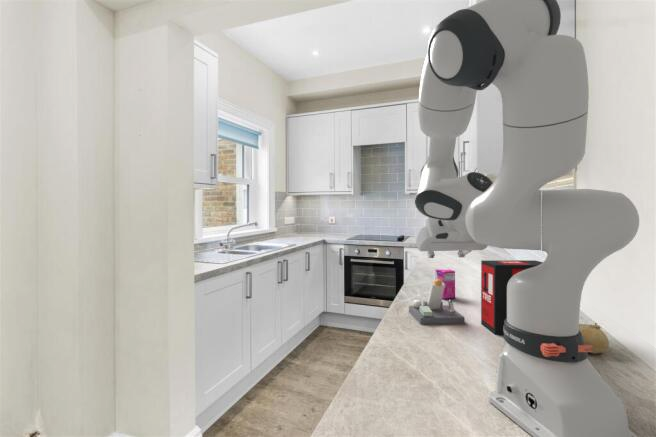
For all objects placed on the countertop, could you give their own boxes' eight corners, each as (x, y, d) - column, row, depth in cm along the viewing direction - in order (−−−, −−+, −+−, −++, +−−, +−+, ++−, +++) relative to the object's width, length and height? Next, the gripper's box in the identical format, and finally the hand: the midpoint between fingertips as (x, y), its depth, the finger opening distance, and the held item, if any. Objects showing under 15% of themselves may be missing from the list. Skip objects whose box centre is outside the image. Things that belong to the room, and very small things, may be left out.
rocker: (432, 315, 101) (432, 311, 101) (423, 316, 101) (423, 312, 101) (427, 310, 105) (428, 306, 105) (419, 310, 105) (419, 306, 105)
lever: (439, 310, 108) (446, 282, 102) (427, 311, 108) (434, 282, 102) (437, 305, 110) (443, 277, 104) (425, 306, 110) (431, 277, 104)
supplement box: (434, 296, 133) (434, 269, 133) (446, 295, 135) (446, 268, 135) (443, 300, 128) (443, 271, 127) (455, 298, 129) (455, 270, 129)
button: (422, 307, 110) (422, 301, 110) (414, 307, 110) (414, 302, 110) (420, 305, 113) (420, 299, 113) (412, 305, 113) (412, 299, 113)
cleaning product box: (534, 324, 100) (535, 260, 99) (554, 335, 91) (554, 265, 91) (481, 324, 100) (481, 260, 100) (495, 334, 91) (495, 265, 91)
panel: (464, 323, 101) (464, 308, 101) (420, 324, 100) (420, 309, 100) (447, 310, 114) (447, 297, 114) (408, 311, 113) (408, 298, 113)
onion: (590, 359, 76) (590, 329, 76) (559, 345, 84) (560, 318, 84) (617, 356, 78) (617, 327, 78) (584, 343, 86) (585, 316, 85)
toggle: (455, 313, 103) (453, 299, 105) (450, 313, 103) (448, 299, 105) (454, 313, 104) (452, 300, 106) (449, 313, 104) (446, 300, 106)
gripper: (492, 216, 90) (475, 247, 100) (421, 217, 89) (410, 248, 99) (501, 233, 86) (482, 263, 96) (426, 235, 85) (415, 265, 95)
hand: (445, 256), depth 97 cm, fingers open, 8 cm apart
